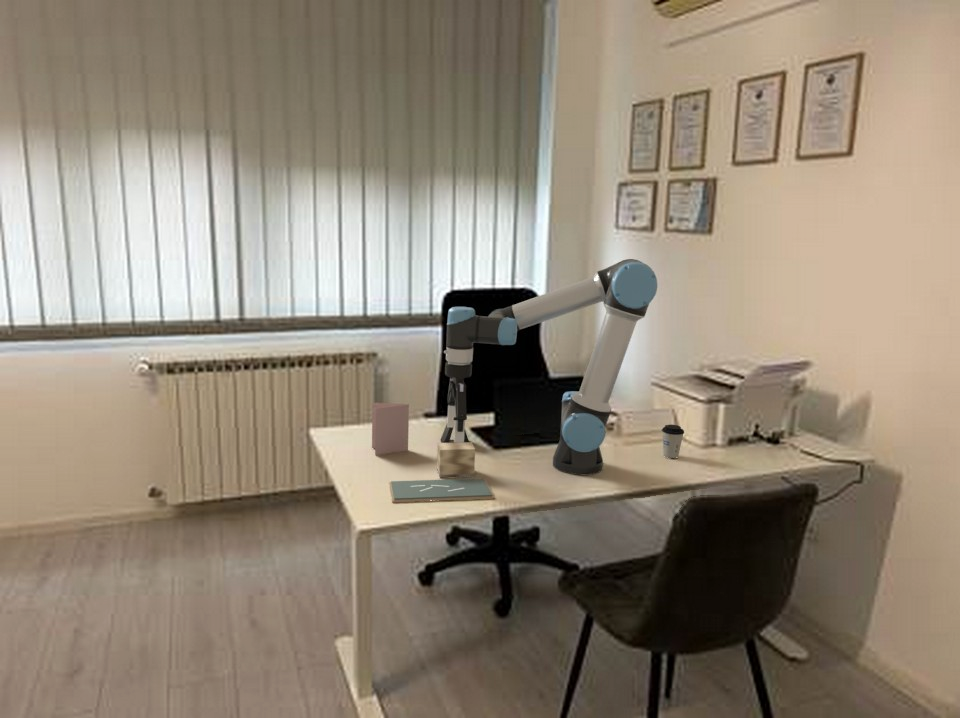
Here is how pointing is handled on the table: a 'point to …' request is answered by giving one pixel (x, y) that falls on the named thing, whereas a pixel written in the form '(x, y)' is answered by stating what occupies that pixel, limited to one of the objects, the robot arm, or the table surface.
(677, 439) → the coffee cup
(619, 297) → the robot arm
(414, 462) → the table surface
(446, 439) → the phone stand
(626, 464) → the table surface
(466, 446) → the eraser block
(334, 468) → the table surface
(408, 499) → the chalkboard
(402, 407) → the greeting card
